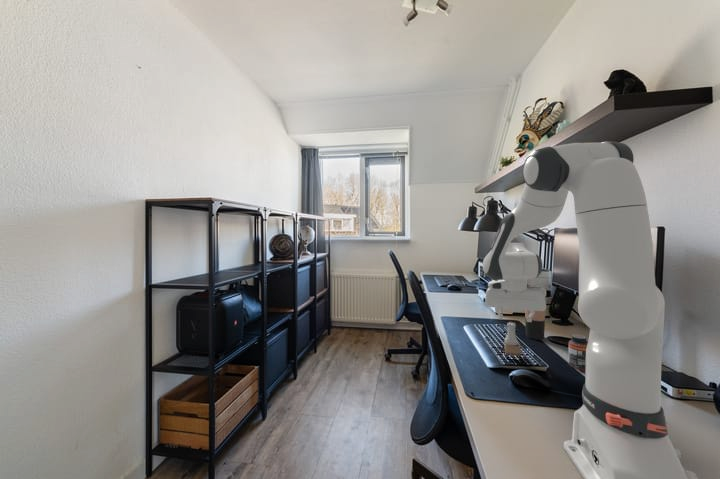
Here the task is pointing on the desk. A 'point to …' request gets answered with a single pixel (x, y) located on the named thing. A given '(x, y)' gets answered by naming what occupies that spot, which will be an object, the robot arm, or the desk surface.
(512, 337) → the rook chess piece
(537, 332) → the travel mug
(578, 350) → the supplement bottle
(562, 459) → the desk surface
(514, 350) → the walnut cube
